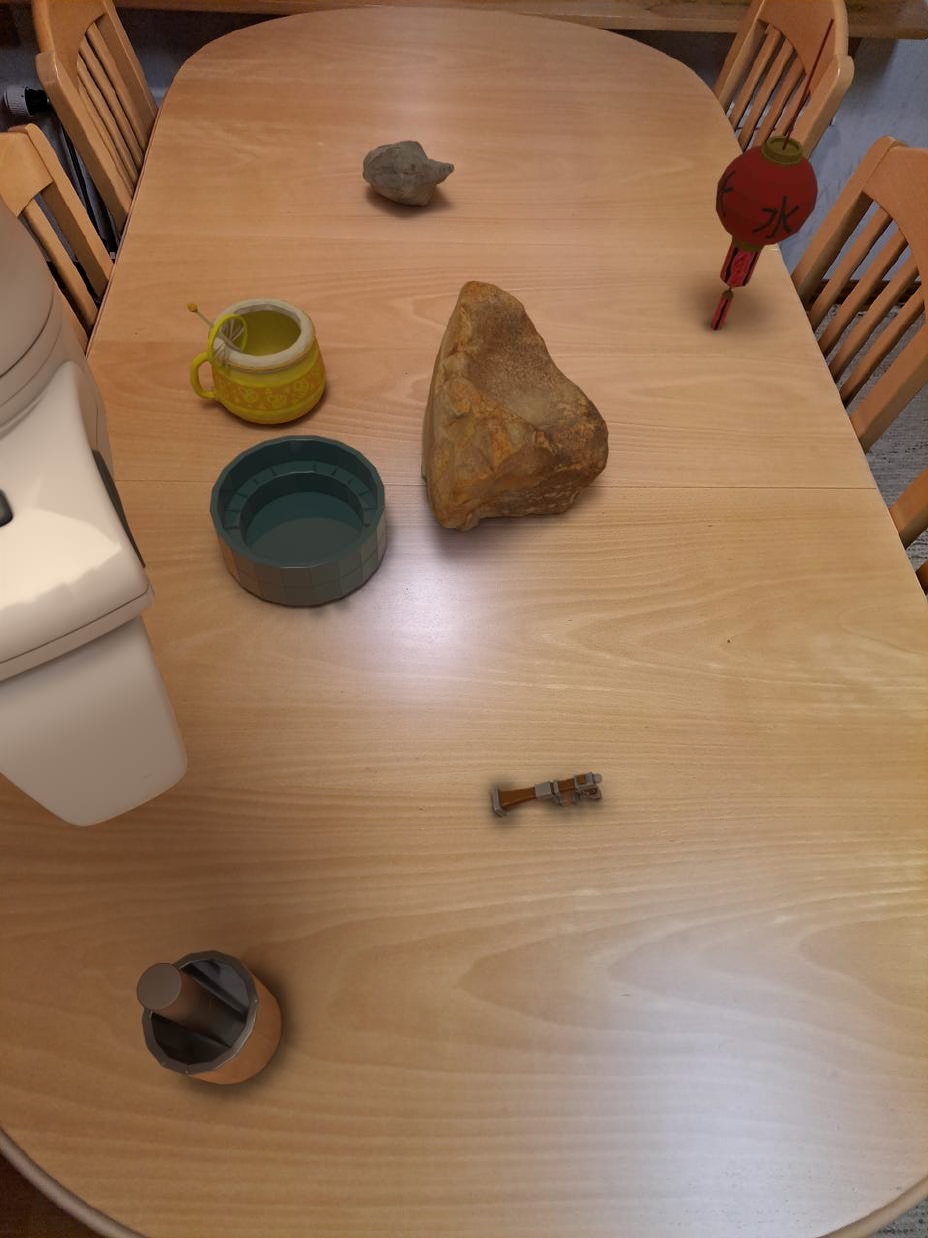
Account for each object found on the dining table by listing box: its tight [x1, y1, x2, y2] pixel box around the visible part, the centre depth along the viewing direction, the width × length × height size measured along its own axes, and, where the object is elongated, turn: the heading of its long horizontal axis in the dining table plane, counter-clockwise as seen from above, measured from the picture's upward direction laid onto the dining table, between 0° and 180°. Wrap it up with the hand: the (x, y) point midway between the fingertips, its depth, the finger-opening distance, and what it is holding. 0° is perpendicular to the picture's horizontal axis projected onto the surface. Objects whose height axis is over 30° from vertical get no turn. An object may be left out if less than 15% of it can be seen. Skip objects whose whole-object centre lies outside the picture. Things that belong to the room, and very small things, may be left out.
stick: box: [136, 962, 246, 1047], centre depth 45 cm, size 2×2×18 cm
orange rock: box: [420, 280, 610, 533], centre depth 73 cm, size 23×17×15 cm
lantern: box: [710, 18, 835, 331], centre depth 79 cm, size 10×10×30 cm
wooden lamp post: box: [491, 771, 603, 817], centre depth 61 cm, size 2×8×4 cm, turn 96°
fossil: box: [362, 139, 455, 207], centre depth 98 cm, size 11×9×8 cm
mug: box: [186, 297, 327, 425], centre depth 77 cm, size 13×11×12 cm
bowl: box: [209, 434, 387, 606], centre depth 71 cm, size 14×14×6 cm
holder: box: [141, 949, 283, 1085], centre depth 48 cm, size 6×6×10 cm
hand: (87, 649), depth 35 cm, fingers open, 8 cm apart
